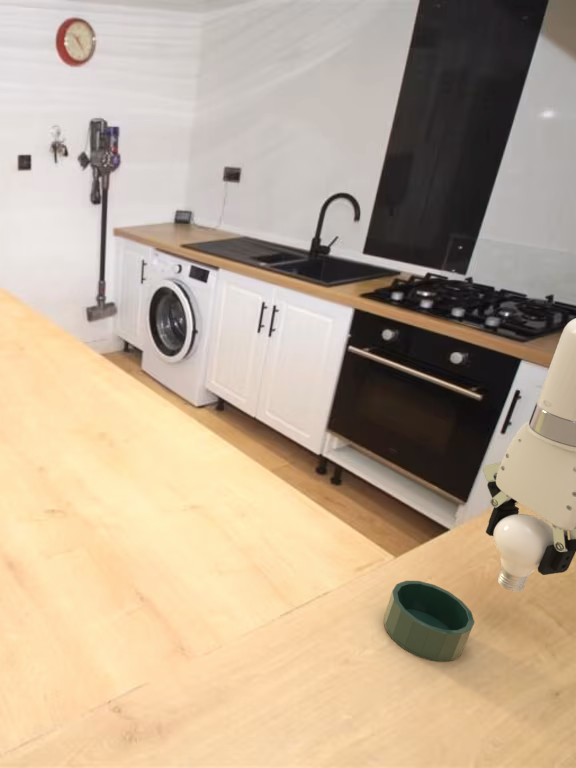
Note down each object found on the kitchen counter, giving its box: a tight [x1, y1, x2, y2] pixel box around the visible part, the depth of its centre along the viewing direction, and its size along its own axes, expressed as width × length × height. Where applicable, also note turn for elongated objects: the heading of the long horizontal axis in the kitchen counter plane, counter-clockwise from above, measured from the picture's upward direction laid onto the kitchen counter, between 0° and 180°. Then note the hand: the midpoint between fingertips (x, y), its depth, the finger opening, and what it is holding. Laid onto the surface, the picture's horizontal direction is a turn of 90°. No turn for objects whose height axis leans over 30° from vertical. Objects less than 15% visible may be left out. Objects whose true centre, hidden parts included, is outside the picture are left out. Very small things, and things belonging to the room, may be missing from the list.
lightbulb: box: [492, 513, 554, 593], centre depth 68 cm, size 6×6×11 cm
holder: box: [383, 580, 475, 663], centre depth 70 cm, size 9×9×5 cm
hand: (523, 550), depth 68 cm, fingers closed on lightbulb, 6 cm apart
